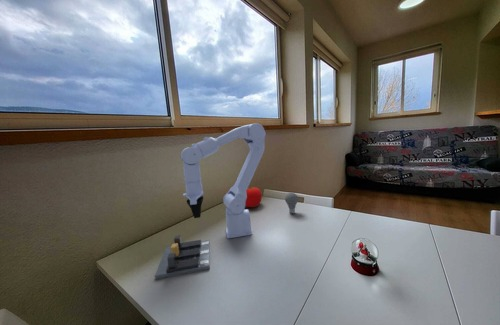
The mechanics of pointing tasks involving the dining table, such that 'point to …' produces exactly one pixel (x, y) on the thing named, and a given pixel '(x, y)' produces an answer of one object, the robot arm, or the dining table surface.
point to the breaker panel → (184, 258)
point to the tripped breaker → (175, 249)
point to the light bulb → (291, 201)
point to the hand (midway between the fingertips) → (197, 217)
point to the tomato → (253, 197)
